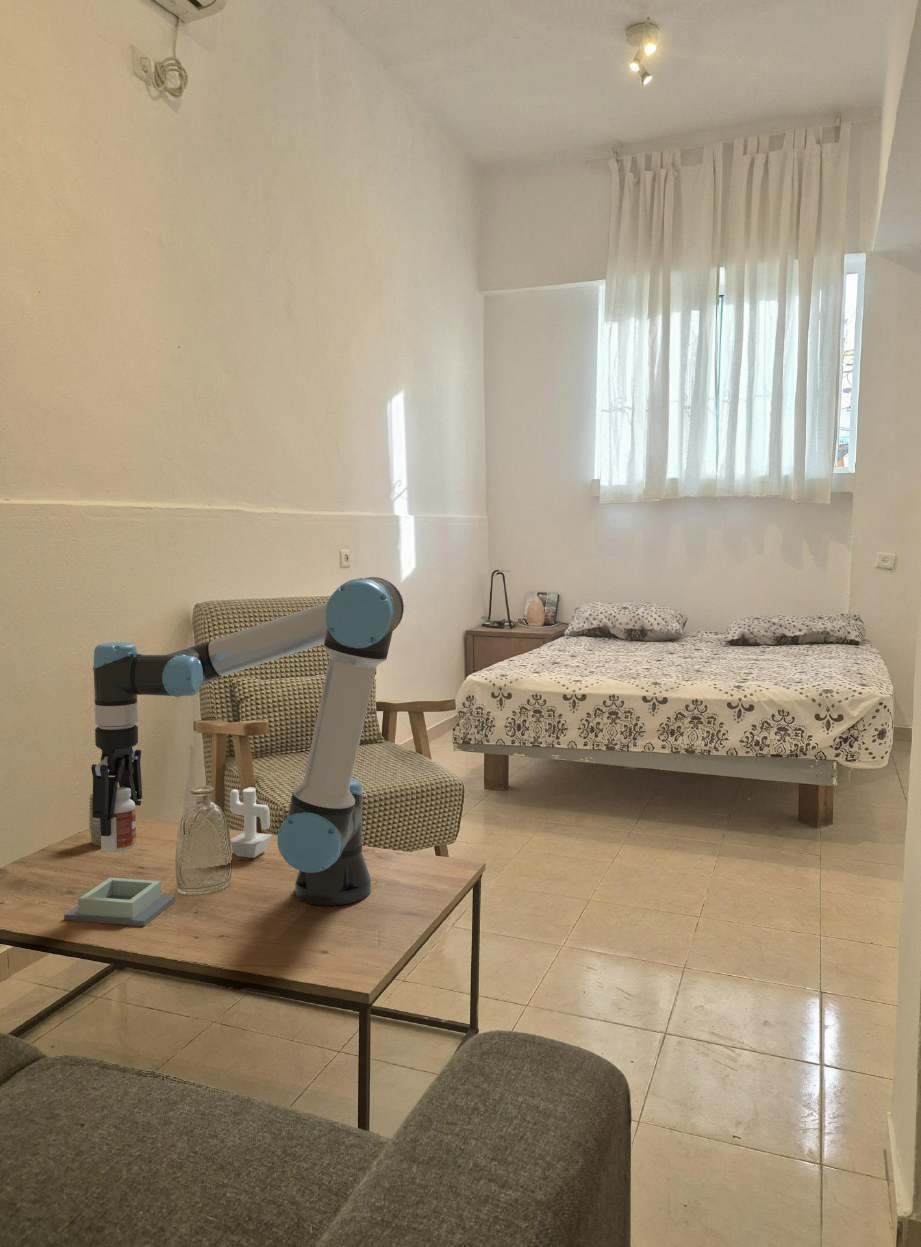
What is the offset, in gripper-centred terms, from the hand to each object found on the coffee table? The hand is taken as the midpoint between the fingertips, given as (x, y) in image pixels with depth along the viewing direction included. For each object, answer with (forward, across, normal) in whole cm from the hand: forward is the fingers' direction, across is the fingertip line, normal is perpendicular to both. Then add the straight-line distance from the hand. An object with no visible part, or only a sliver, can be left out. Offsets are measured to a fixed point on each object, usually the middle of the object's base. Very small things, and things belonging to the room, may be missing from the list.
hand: (119, 845), depth 170 cm
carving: (+13, -35, -24) cm, 44 cm away
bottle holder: (+13, 0, 0) cm, 13 cm away
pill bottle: (+1, 0, 0) cm, 1 cm away
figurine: (+13, -34, +12) cm, 38 cm away
